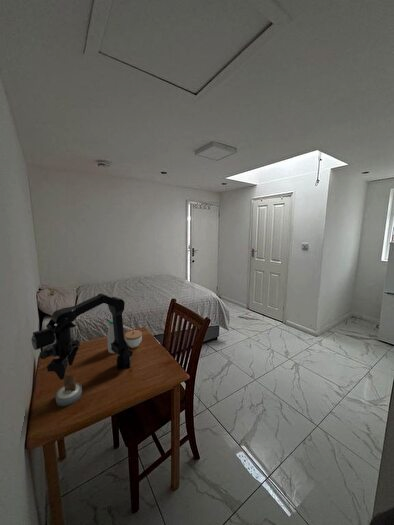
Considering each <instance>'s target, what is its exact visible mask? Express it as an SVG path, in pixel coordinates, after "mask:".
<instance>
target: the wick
mask: <svg viewBox="0 0 394 525" xmlns="http://www.w3.org/2000/svg"><path fill="white" fill-rule="evenodd" d="M76 383H77V382H76V375H75V374H70V375H69V374H67V375H65V376H64V379H63V386H64V387H65V391H66V390H71V391H75V390H76Z"/></svg>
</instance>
